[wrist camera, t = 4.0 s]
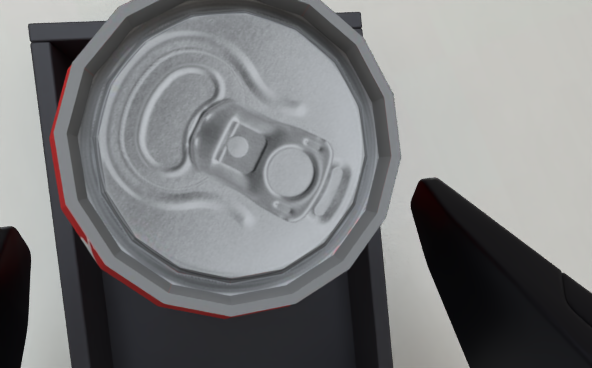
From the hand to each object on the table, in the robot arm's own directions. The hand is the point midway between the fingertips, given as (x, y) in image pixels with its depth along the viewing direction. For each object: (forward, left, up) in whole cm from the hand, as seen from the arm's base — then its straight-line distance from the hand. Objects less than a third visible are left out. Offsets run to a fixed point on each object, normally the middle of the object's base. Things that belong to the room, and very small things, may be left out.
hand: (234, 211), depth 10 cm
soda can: (+1, +1, -9) cm, 9 cm away
